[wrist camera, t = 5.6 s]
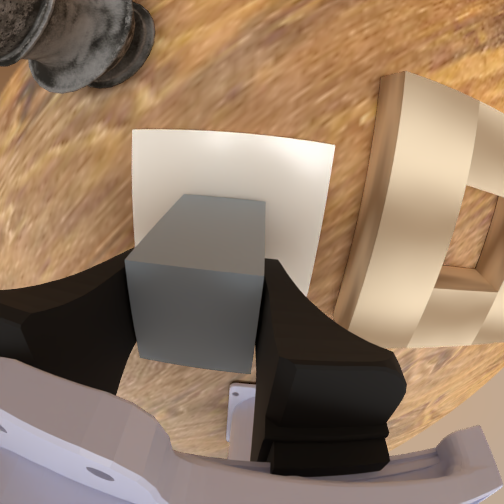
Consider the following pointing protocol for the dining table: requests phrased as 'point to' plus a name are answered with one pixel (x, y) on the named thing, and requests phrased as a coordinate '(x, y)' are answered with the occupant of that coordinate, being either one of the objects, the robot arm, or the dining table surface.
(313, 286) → the dining table surface
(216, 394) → the dining table surface
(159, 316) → the peg
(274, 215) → the coaster
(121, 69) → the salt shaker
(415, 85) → the pocket board
